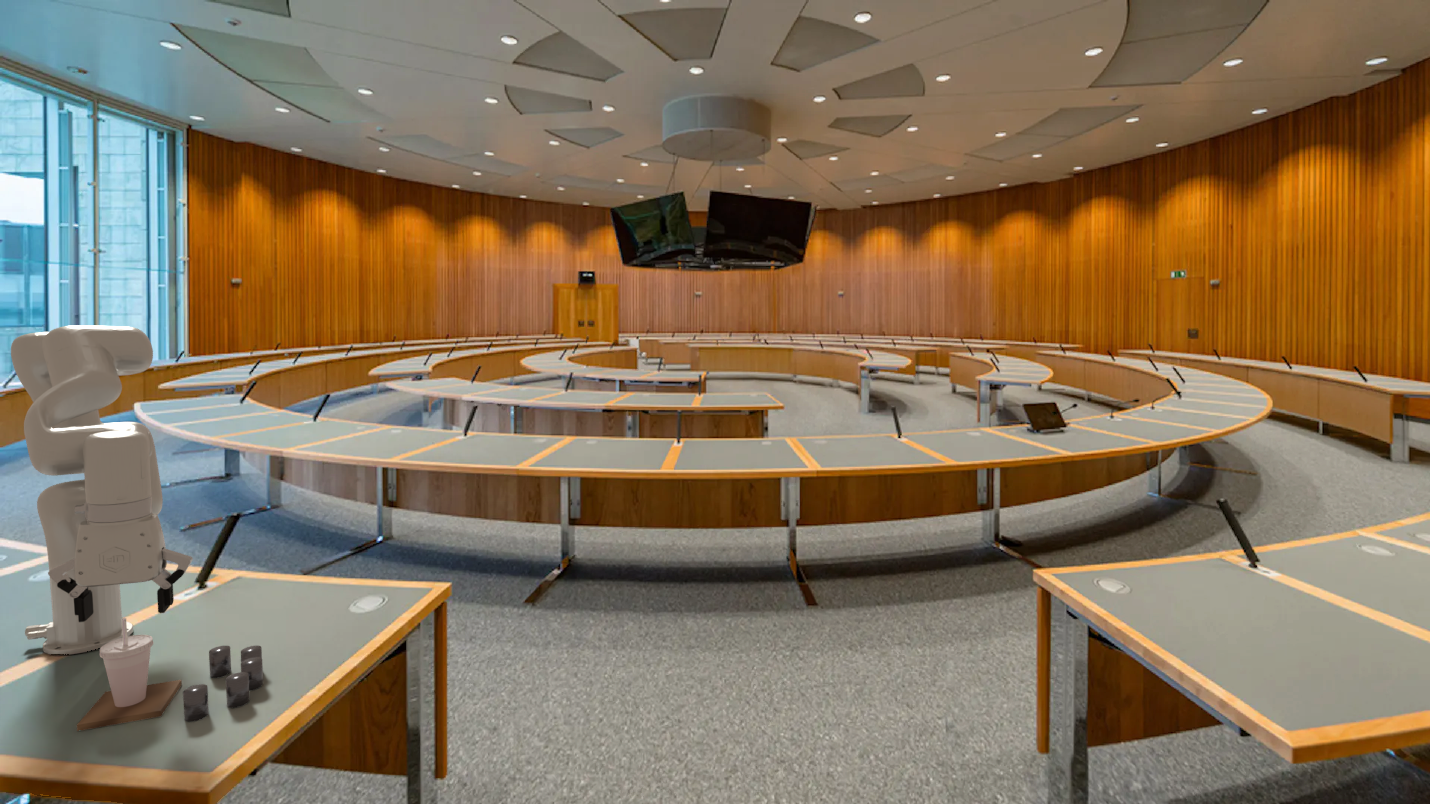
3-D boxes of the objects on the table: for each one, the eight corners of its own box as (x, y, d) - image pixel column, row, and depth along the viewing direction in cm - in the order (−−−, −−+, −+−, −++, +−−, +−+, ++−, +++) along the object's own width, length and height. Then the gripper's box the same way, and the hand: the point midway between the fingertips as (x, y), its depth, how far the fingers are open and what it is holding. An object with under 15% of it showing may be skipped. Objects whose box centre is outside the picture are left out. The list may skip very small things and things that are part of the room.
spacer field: (181, 723, 99) (180, 696, 99) (212, 671, 115) (211, 647, 114) (251, 711, 103) (250, 684, 103) (272, 662, 119) (271, 638, 118)
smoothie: (96, 716, 99) (90, 629, 98) (111, 695, 105) (105, 613, 103) (150, 706, 102) (144, 621, 101) (161, 686, 108) (156, 606, 106)
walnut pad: (77, 731, 97) (76, 725, 97) (105, 697, 106) (105, 691, 106) (161, 716, 101) (160, 710, 101) (181, 685, 110) (181, 679, 110)
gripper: (32, 521, 93) (40, 633, 95) (181, 512, 101) (186, 616, 103) (58, 507, 100) (65, 611, 102) (196, 500, 108) (200, 597, 109)
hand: (126, 614), depth 102 cm, fingers open, 9 cm apart
